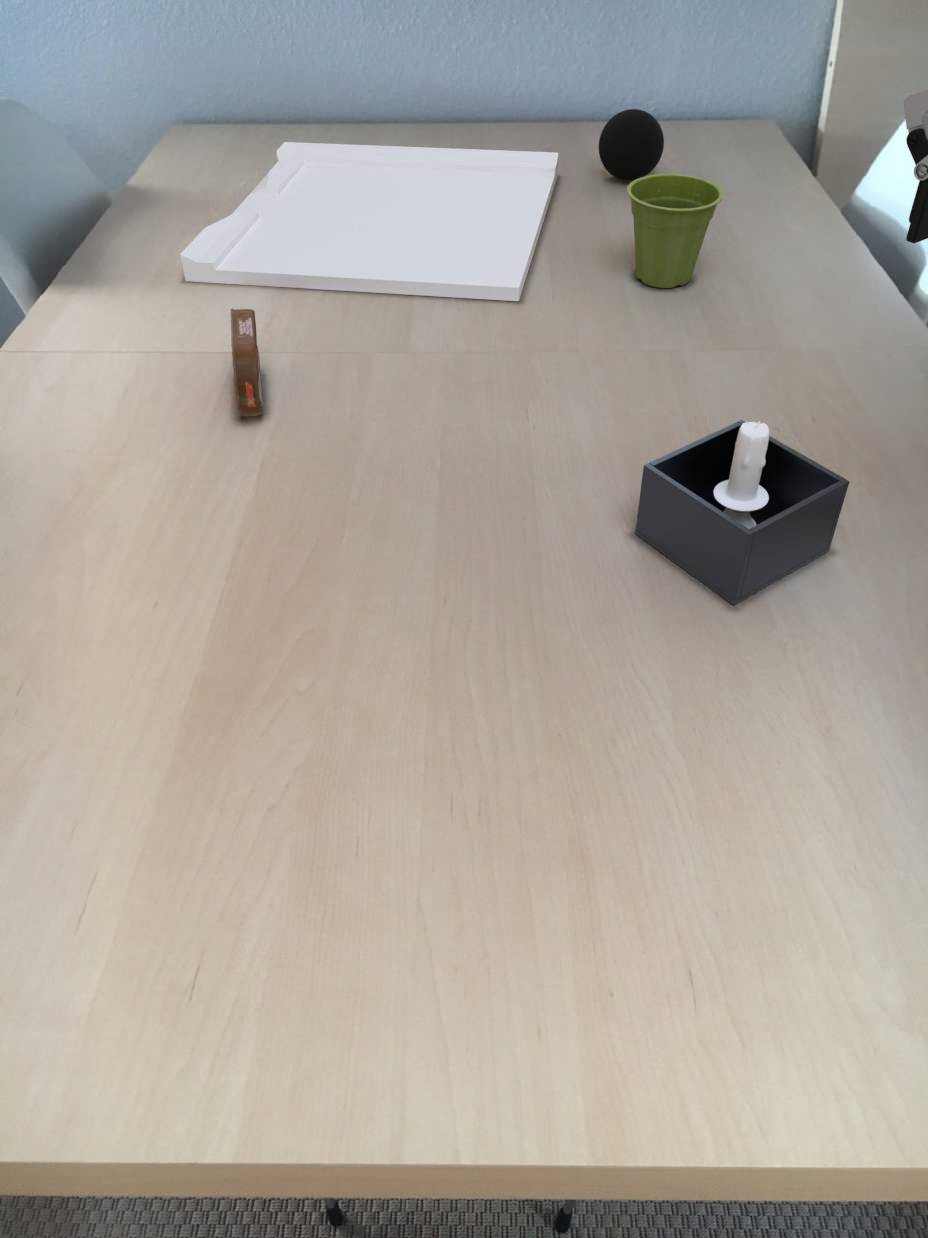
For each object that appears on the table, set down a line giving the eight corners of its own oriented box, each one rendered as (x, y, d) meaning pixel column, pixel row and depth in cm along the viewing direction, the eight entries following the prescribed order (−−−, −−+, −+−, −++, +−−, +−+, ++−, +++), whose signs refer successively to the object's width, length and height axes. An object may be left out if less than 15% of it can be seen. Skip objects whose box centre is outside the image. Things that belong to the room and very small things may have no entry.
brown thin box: (237, 364, 116) (224, 295, 110) (264, 361, 116) (253, 292, 110) (240, 432, 105) (225, 360, 99) (270, 429, 105) (257, 357, 99)
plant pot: (626, 299, 126) (635, 209, 118) (612, 260, 134) (620, 174, 127) (718, 296, 126) (733, 206, 118) (699, 257, 135) (712, 171, 127)
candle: (735, 513, 92) (759, 399, 84) (774, 544, 88) (803, 429, 80) (689, 531, 90) (709, 416, 82) (727, 563, 87) (752, 447, 78)
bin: (728, 487, 96) (741, 419, 91) (829, 551, 89) (850, 481, 83) (634, 534, 91) (643, 465, 86) (733, 606, 83) (749, 535, 78)
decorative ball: (588, 185, 155) (592, 116, 148) (606, 164, 162) (611, 97, 155) (650, 193, 152) (658, 123, 145) (666, 171, 159) (674, 103, 152)
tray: (518, 301, 126) (519, 273, 123) (185, 280, 132) (179, 254, 130) (557, 176, 158) (558, 152, 156) (288, 164, 165) (284, 141, 162)
